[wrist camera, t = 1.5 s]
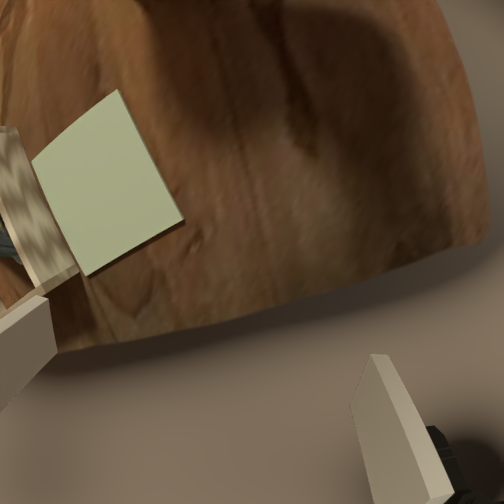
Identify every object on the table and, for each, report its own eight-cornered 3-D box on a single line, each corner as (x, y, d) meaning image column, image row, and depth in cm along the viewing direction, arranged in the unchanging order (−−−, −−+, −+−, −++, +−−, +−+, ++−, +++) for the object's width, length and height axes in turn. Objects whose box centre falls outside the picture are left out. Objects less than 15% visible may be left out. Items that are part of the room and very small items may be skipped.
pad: (34, 161, 34) (31, 161, 34) (119, 90, 31) (117, 89, 31) (87, 275, 38) (85, 276, 37) (184, 218, 35) (182, 219, 35)
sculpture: (47, 225, 36) (15, 235, 29) (38, 266, 38) (8, 280, 31) (-6, 191, 35) (-36, 196, 29) (-13, 229, 37) (-42, 237, 30)
